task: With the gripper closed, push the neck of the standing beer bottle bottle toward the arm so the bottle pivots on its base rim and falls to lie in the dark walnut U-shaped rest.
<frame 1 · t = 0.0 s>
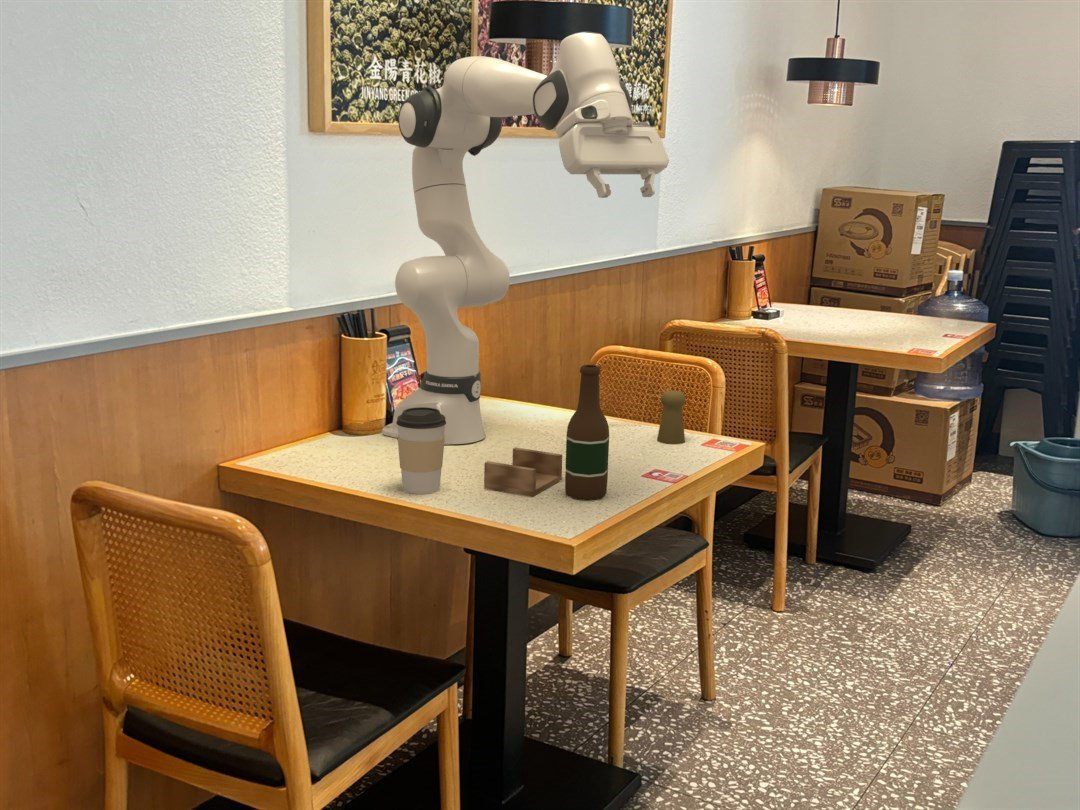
hand: (627, 196, 191), 54 cm above the table, tool tilted 30°, fingers open, 8 cm apart
walnut rest: (523, 484, 216), on the table
cork: (670, 441, 249), on the table
beer bottle: (585, 495, 210), on the table
coffee cup: (421, 489, 211), on the table
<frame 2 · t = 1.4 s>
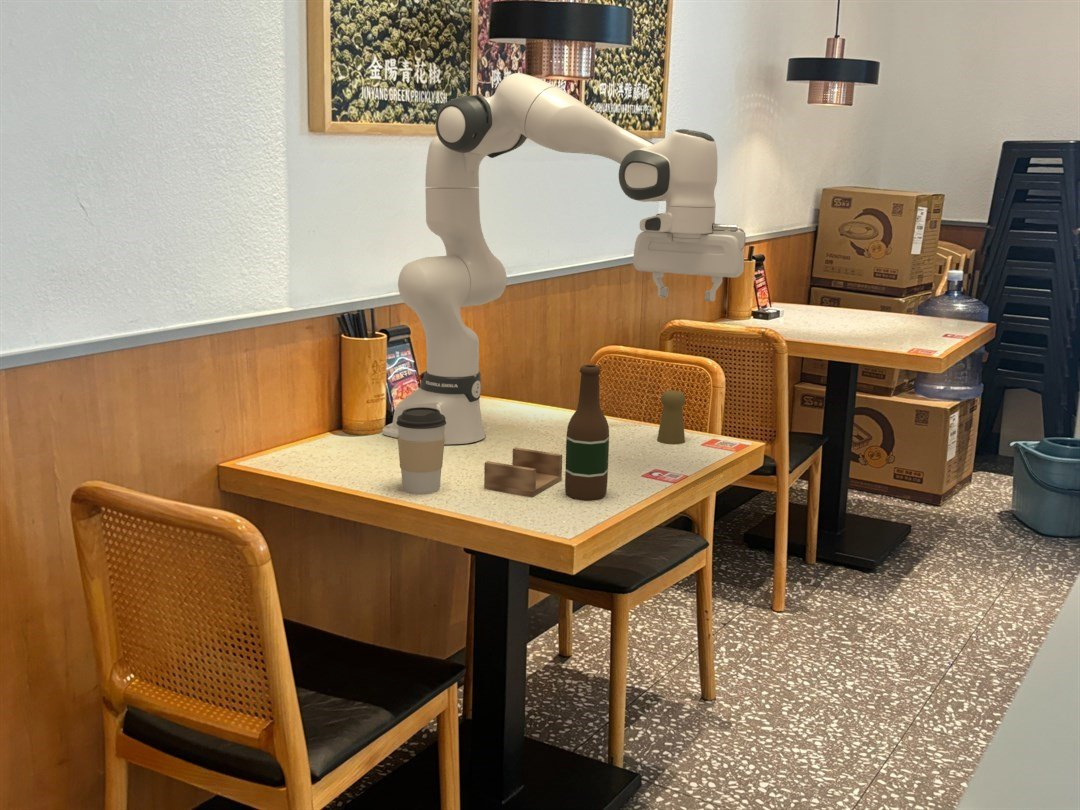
hand: (686, 299, 210), 35 cm above the table, tool pointing down, fingers open, 8 cm apart
nothing on the table moved.
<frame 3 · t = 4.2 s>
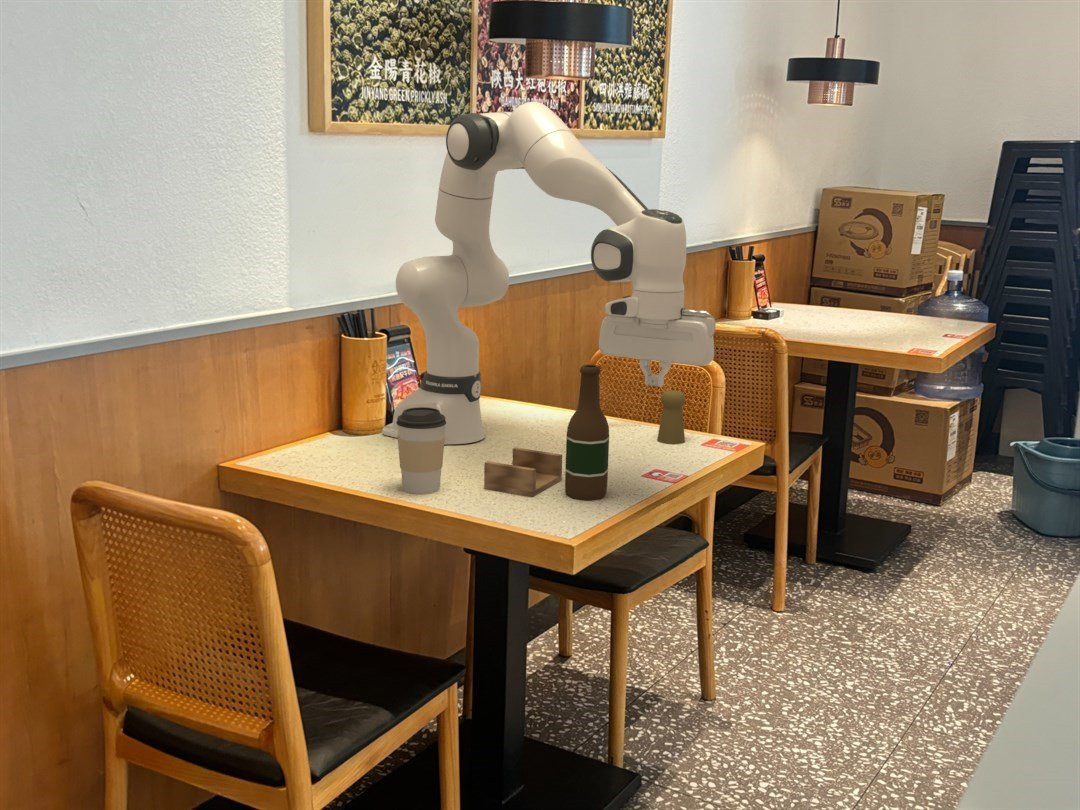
hand: (654, 385, 200), 22 cm above the table, tool pointing down, fingers closed
nothing on the table moved.
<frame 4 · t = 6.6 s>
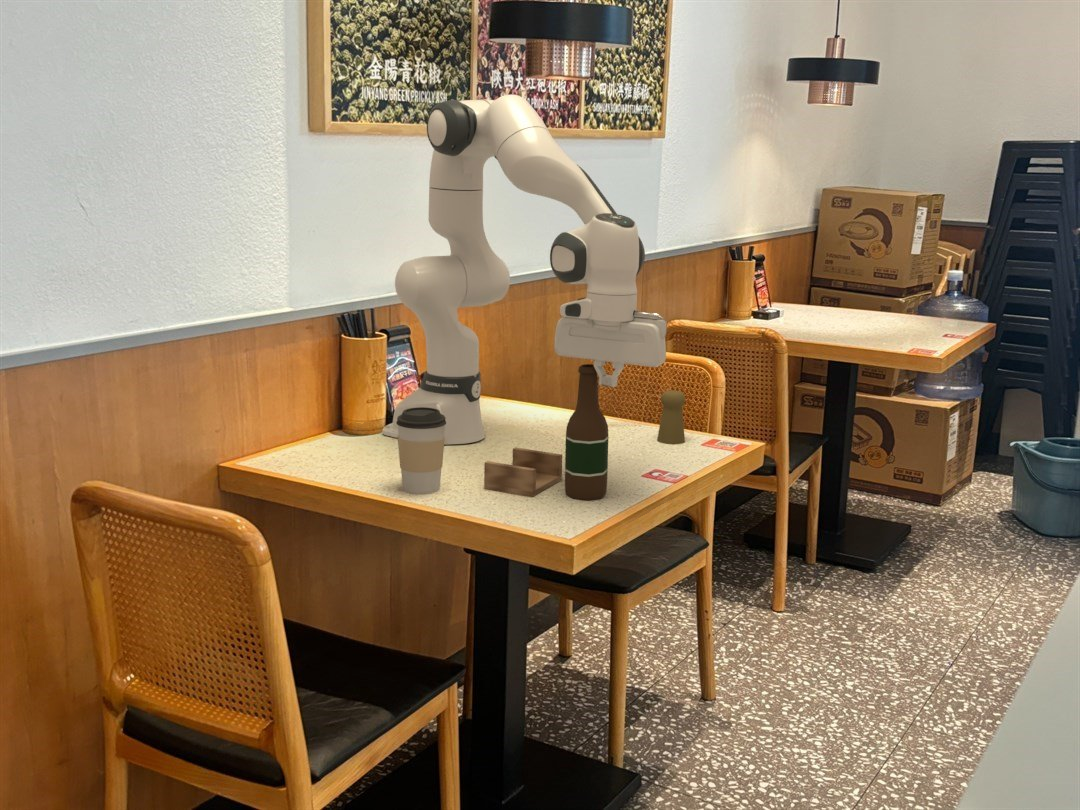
hand: (608, 385, 204), 21 cm above the table, tool pointing down, fingers closed
beer bottle: (585, 495, 210), on the table, touching gripper
everything else where it was.
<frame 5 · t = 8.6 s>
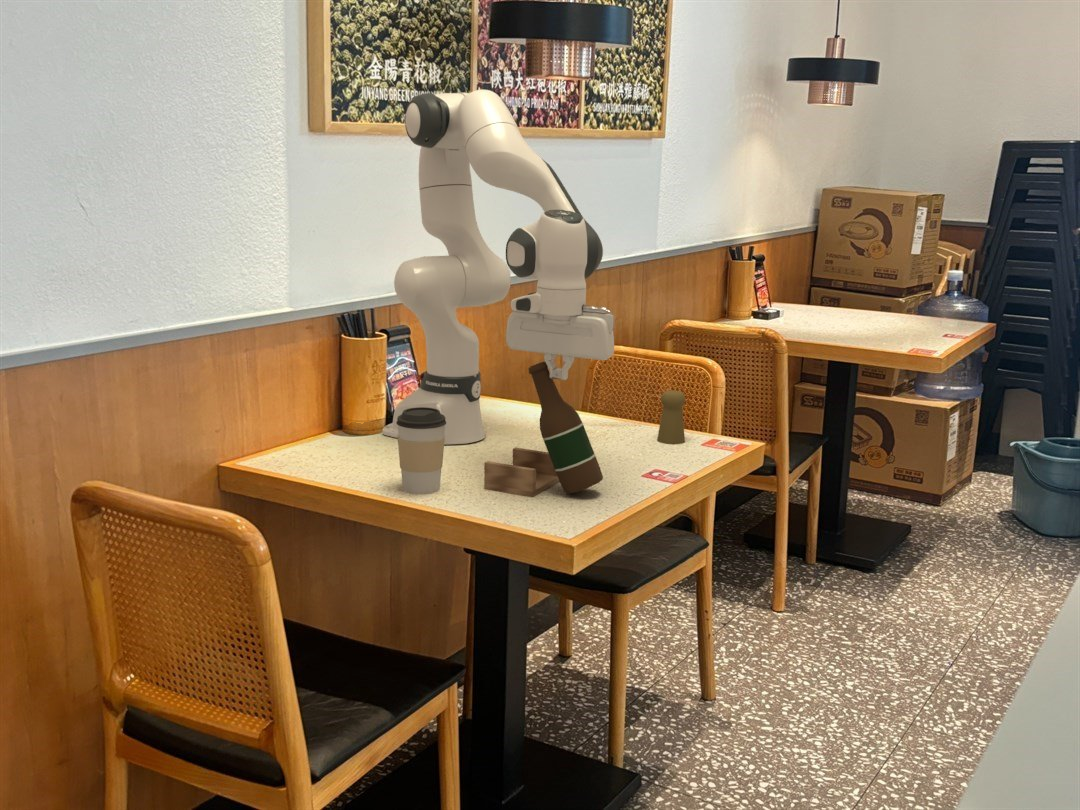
hand: (558, 378, 208), 21 cm above the table, tool pointing down, fingers closed
beer bottle: (584, 487, 210), point 1 cm above the table
everything else where it was.
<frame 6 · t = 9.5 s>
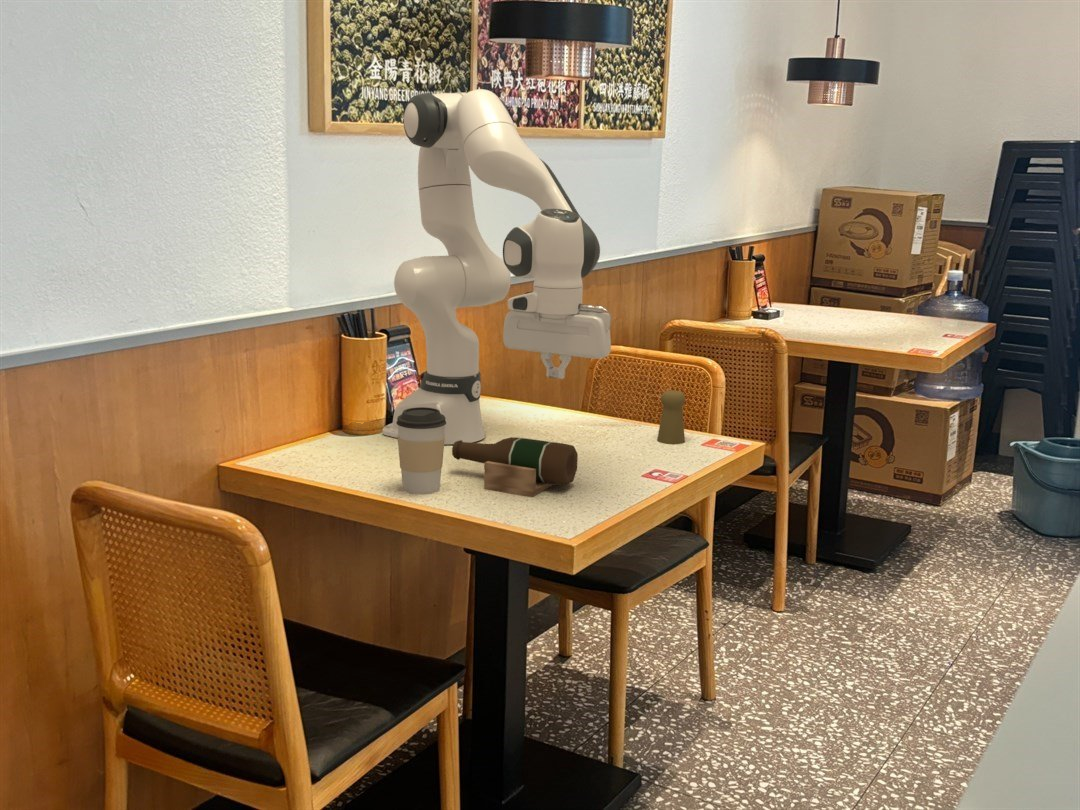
hand: (555, 377, 208), 21 cm above the table, tool pointing down, fingers closed
beer bottle: (571, 465, 212), point 5 cm above the table, touching walnut rest
everything else where it was.
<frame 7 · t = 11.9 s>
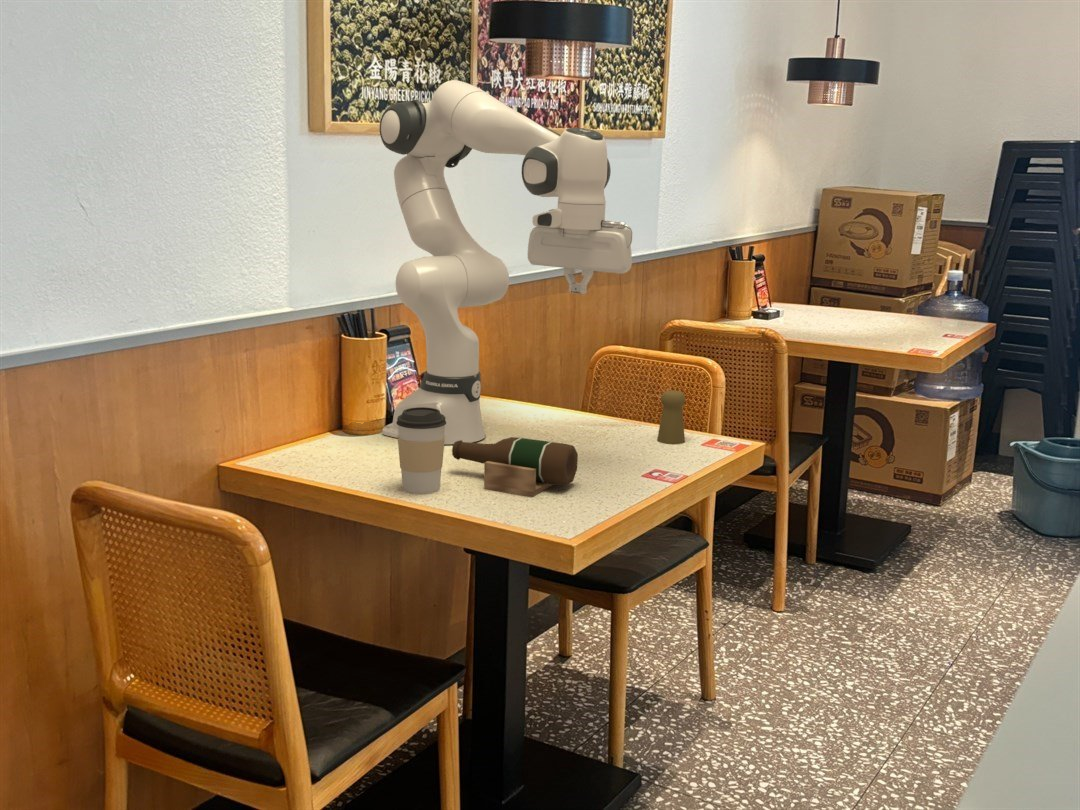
hand: (577, 293, 216), 35 cm above the table, tool pointing down, fingers closed
nothing on the table moved.
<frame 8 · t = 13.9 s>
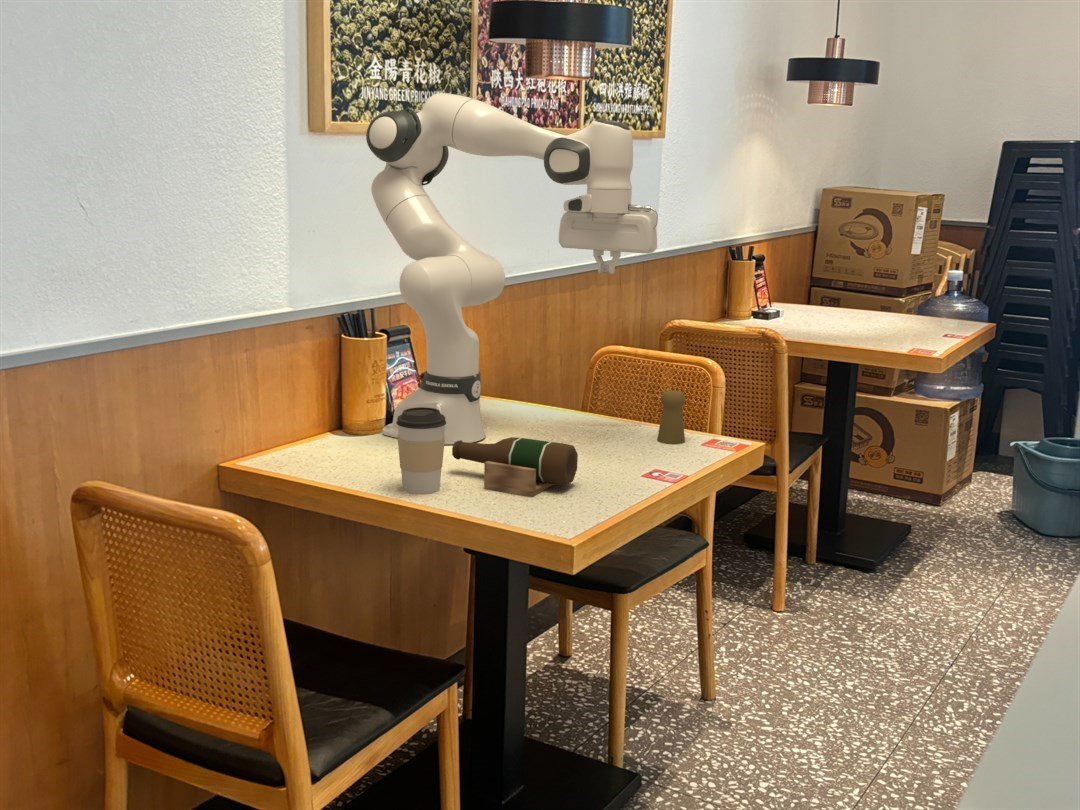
hand: (606, 273, 231), 37 cm above the table, tool pointing down, fingers closed
nothing on the table moved.
at the end: beer bottle tilted 90°; beer bottle touching walnut rest; beer bottle inside the target area (1.5 cm from its centre), point 4.6 cm above the table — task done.
